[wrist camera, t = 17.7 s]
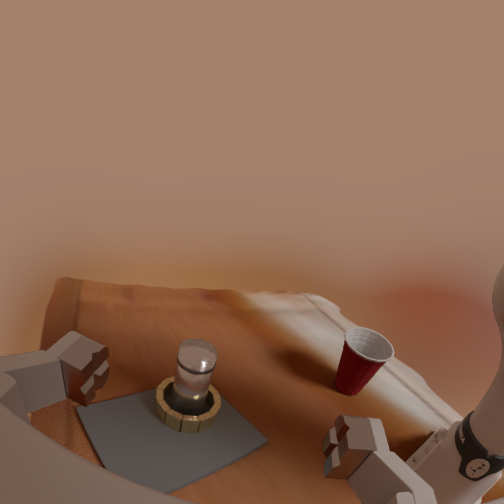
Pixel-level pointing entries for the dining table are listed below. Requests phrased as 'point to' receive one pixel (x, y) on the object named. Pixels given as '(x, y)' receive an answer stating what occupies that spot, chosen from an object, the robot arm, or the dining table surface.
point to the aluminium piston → (193, 376)
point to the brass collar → (185, 421)
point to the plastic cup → (361, 359)
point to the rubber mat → (164, 441)
